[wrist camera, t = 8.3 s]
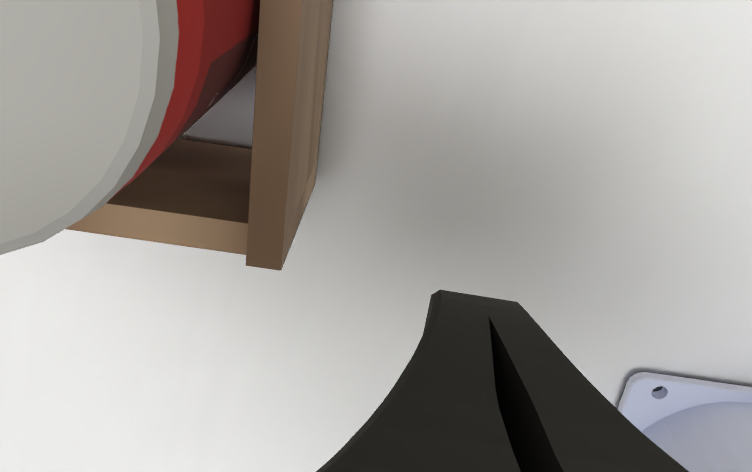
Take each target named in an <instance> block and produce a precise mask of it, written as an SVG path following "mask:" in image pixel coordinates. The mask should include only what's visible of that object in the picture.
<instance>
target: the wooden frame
mask: <svg viewBox="0 0 752 472" xmlns="http://www.w3.org/2000/svg"><path fill="white" fill-rule="evenodd" d="M332 5H333V0H260V13H259V32H258V50H257V69H256V87H255V105H254V124H253V142H252V149H247V148H240V147H233V146H226V145H219V144H212V143H205V142H198V141H191V140H184V139H177V140H176V141H175V142H174V143H173V144H172V145H171V146H170V147H168V148H167V149H166V150H165V151H164V152H163V153H162V154H161V155H160V156H159V157H158V158H157V159H156V160H155V161H154V162H152V163H151V164H150V165H149V166H148V167H147V168H146V169H145V170H144V171H143V172H142V173H141V174H140V175H139V176H137V177H136V178H135V179H134V180H133V181H132V182H131V183H130V184H128V185H127V186H125V187H124V188H122V189H121V190H120V191H119V192H118V193H117V194H116V195H115V196H114V197H112V198H111V199H110V200H109V201H108V202H107V203H106V204H105V205H104V206H103V207H101V208H100V209H98V210H96V211H95V212H93V213H91V214H89V215H88V216H86V217H84V218H83V219H81V220H79V221H77V222H76V223H74V224H72V225H71V226H69V227H67V228H66V229H69V230H76V231H83V232H90V233H97V234H104V235H111V236H118V237H125V238H132V239H139V240H146V241H153V242H160V243H167V244H174V245H181V246H188V247H195V248H202V249H209V250H216V251H223V252H230V253H237V254H244V255H246V266H253V267H260V268H267V269H274V270H281V269H282V267H283V264H284V262H285V259H286V257H287V254H288V252H289V249H290V246H291V244H292V241H293V239H294V236H295V234H296V231H297V229H298V226H299V223H300V221H301V218H302V216H303V213H304V211H305V208H306V206H307V203H308V200H309V198H310V195H311V193H312V190H313V188H314V185H315V178H316V168H317V158H318V148H319V137H320V127H321V117H322V107H323V97H324V86H325V76H326V66H327V56H328V46H329V35H330V25H331V15H332Z"/></svg>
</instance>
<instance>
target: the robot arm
mask: <svg viewBox="0 0 752 472" xmlns="http://www.w3.org/2000/svg"><path fill="white" fill-rule="evenodd" d="M659 386H663V388H662V389H661V390H659V391H656V392H653V389H654V388H656V387H659ZM316 472H752V387H747V386H740V385H733V384H726V383H719V382H712V381H705V380H698V379H691V378H684V377H677V376H670V375H663V374H656V373H649V372H639V373H636V374H634V375H633V376H631V377H630V378H629V380H628V381H627V384H626V386H625V389H624V392H623V395H622V398H621V400H620V403H619V406H618V409H616V408H615V407H614V406H613V405H612V404H611V403H610V402H609V401H608V400H607V399H606V398H605V397H604V396H603V395H602V394H601V393H600V392H599V391H598V390H597V389H596V388H595V387H594V386H593V385H592V384H591V383H590V382H589V381H588V380H587V379H586V378H585V377H584V376H583V375H582V373H581V372H580V371H579V370H578V369H577V368H576V367H575V366H574V365H573V364H572V363H571V362H570V360H569V359H568V358H567V357H566V356H565V355H564V354H563V353H562V352H561V350H560V349H559V348H558V347H557V346H556V345H555V344H554V342H553V341H552V340H551V339H550V338H549V337H548V336H547V334H546V333H545V332H544V331H543V330H542V329H541V328H540V326H539V325H538V324H537V323H536V322H535V321H534V320H533V318H532V317H531V316H530V315H529V314H528V313H527V312H526V311H525V309H524V308H523V307H522V306H521V305H520V304H519V303H518V302H513V301H507V300H501V299H495V298H488V297H482V296H476V295H470V294H463V293H457V292H451V291H445V290H439V291H437V292H436V293H434V294H432V295H431V300H430V304H429V309H428V314H427V318H426V323H425V328H424V333H423V336H422V338H421V340H420V342H419V344H418V347H417V349H416V351H415V353H414V355H413V356H412V358H411V360H410V362H409V363H408V365H407V366H406V368H405V370H404V371H403V373H402V374H401V376H400V378H399V379H398V381H397V382H396V384H395V385H394V387H393V388H392V390H391V391H390V393H389V394H388V395H387V397H386V398H385V399H384V401H383V402H382V403H381V405H380V406H379V407H378V408H377V410H376V411H375V412H374V413H373V415H372V416H371V417H370V418H369V419H368V421H367V422H366V423H365V424H364V425H363V426H362V427H361V428H360V429H359V431H358V432H357V433H356V434H355V435H354V436H353V437H352V438H351V439H350V440H349V441H348V442H347V443H346V444H345V446H344V447H343V448H342V449H341V450H340V451H338V452H337V453H336V454H335V455H334V456H333V457H332V458H331V459H330V460H329V461H328V462H327V463H326V464H325V465H323V466H322V467H321V468H320V469H319V470H317V471H316Z"/></svg>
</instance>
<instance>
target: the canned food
mask: <svg viewBox="0 0 752 472" xmlns="http://www.w3.org/2000/svg"><path fill="white" fill-rule="evenodd" d="M259 13H260V0H0V255H1V254H5V253H8V252H11V251H14V250H18V249H21V248H24V247H27V246H31V245H34V244H37V243H40V242H43V241H45V240H47V239H48V238H50V237H52V236H54V235H55V234H57V233H59V232H60V231H62V230H64V229H66V228H67V227H69V226H71V225H72V224H74V223H76V222H77V221H79V220H81V219H83V218H84V217H86V216H88V215H89V214H91V213H93V212H95V211H96V210H98V209H100V208H101V207H103V206H104V205H105V204H106V203H107V202H108V201H109V200H110V199H111V198H112V197H114V196H115V195H116V194H117V193H118V192H119V191H120V190H121V189H122V188H124V187H125V186H127V185H128V184H130V183H131V182H132V181H133V180H134V179H135V178H136V177H137V176H139V175H140V174H141V173H142V172H143V171H144V170H145V169H146V168H147V167H148V166H149V165H150V164H151V163H152V162H154V161H155V160H156V159H157V158H158V157H159V156H160V155H161V154H162V153H163V152H164V151H165V150H166V149H167V148H168V147H170V146H171V145H172V144H173V143H174V142H175V141H176V140H177V139H178V138H179V137H180V136H181V135H182V134H183V133H184V132H186V131H187V130H188V129H189V128H190V127H191V126H192V125H193V124H194V123H195V122H196V121H197V120H198V119H199V118H200V117H202V116H203V115H204V114H205V113H206V112H207V111H208V110H209V109H210V108H211V107H212V106H213V105H214V104H215V103H217V102H218V101H219V100H220V99H221V98H222V97H223V96H224V95H225V94H226V93H227V92H228V91H229V90H230V89H231V88H233V87H234V86H235V85H236V84H237V83H238V82H239V81H240V80H241V79H242V78H243V77H244V76H245V75H246V74H247V73H248V72H250V71H251V70H252V69H253V68H254V67H255V66H256V65H257V50H258V32H259Z"/></svg>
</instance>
